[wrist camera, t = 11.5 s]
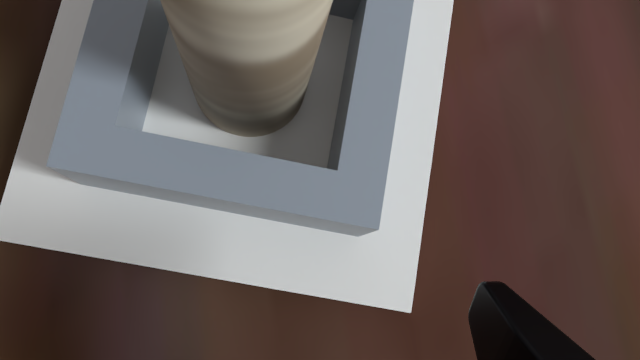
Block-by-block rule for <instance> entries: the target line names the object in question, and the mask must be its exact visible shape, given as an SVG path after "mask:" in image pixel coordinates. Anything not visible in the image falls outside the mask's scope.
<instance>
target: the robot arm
mask: <svg viewBox="0 0 640 360" xmlns="http://www.w3.org/2000/svg"><path fill="white" fill-rule="evenodd" d="M468 318H469V325H470V329H471V334H472V338H473V343H474V347H475V351H476V356H477V360H595V359H594V358H593V357H592V356H591V355H589V354H588V353H587V352H586V351H585V350H583V349H582V348H581V347H580V346H579V345H577V344H576V343H575V342H574V341H573V340H571V339H570V338H569V337H568V336H567V335H565V334H564V333H563V332H562V331H561V330H559V329H558V328H557V327H556V326H555V325H553V324H552V323H551V322H550V321H549V320H548V319H546V318H545V317H544V316H543V315H542V314H540V313H539V312H538V311H537V310H536V309H534V308H533V307H532V306H531V305H530V304H528V303H527V302H526V301H525V300H524V299H522V298H521V297H520V296H519V295H518V294H516V293H515V292H514V291H513V290H512V289H510V288H509V287H508V286H507V285H506V284H504V283H502V282H499V281H492V282H481V283H480V284H479V285H478V287H477V290H476V293H475V295H474V298H473V301H472V304H471V306H470V309H469V315H468Z"/></svg>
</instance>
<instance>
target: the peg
mask: <svg viewBox="0 0 640 360" xmlns="http://www.w3.org/2000/svg"><path fill="white" fill-rule="evenodd" d="M160 1H161V4H162V7H163V9H164V12H165V15H166V18H167V20H168V23H169V26H170V29H171V32H172V34H173V37H174V40H175V43H176V45H177V48H178V51H179V54H180V57H181V59H182V62H183V65H184V68H185V70H186V73H187V76H188V79H189V82H190V84H191V87H192V90H193V93H194V95H195V98H196V101H197V103H198V105H199V107H200V109H201V111H202V112H203V113H204V115H205V116H206V117H207V118H208V119H209V120H210V121H211V122H212V123H213V124H214V125H216V126H217V127H218V128H220V129H222V130H224V131H226V132H228V133H231V134H234V135H237V136H243V137H258V136H264V135H268V134H270V133H273V132H275V131H277V130H279V129H281V128H282V127H284V126H285V125H287V124H288V123H289V122H290V121H291V120H292V119H293V118H294V116H295V115H296V114H297V112H298V111H299V109H300V107H301V105H302V103H303V100H304V96H305V93H306V90H307V86H308V83H309V79H310V76H311V73H312V69H313V66H314V63H315V59H316V56H317V53H318V49H319V46H320V42H321V39H322V36H323V32H324V29H325V26H326V22H327V19H328V16H329V12H330V9H331V6H332V2H333V0H160Z"/></svg>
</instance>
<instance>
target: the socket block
mask: <svg viewBox="0 0 640 360" xmlns="http://www.w3.org/2000/svg"><path fill="white" fill-rule="evenodd" d="M453 1H454V0H333V2H332V6H331V9H330V12H329V16H328V19H327V22H326V26H325V29H324V32H323V36H322V39H321V42H320V46H319V49H318V53H317V56H316V59H315V63H314V66H313V69H312V73H311V76H310V79H309V83H308V86H307V90H306V93H305V96H304V100H303V103H302V105H301V107H300V109H299V111H298V112H297V114H296V115H295V116H294V118H293V119H292V120H291V121H290V122H289V123H288V124H287V125H285V126H284V127H282V128H281V129H279V130H277V131H275V132H273V133H270V134H268V135H264V136H258V137H243V136H237V135H234V134H231V133H228V132H226V131H224V130H222V129H220V128H218V127H217V126H216V125H214V124H213V123H212V122H211V121H210V120H209V119H208V118H207V117H206V116H205V115H204V113H203V112H202V111H201V109H200V107H199V105H198V103H197V101H196V98H195V95H194V93H193V90H192V87H191V84H190V82H189V79H188V76H187V73H186V70H185V68H184V65H183V62H182V59H181V57H180V54H179V51H178V48H177V45H176V43H175V40H174V37H173V34H172V32H171V29H170V26H169V23H168V20H167V18H166V15H165V12H164V9H163V7H162V4H161V1H160V0H62V1H61V5H60V8H59V11H58V15H57V18H56V21H55V25H54V28H53V31H52V35H51V38H50V41H49V45H48V48H47V51H46V55H45V58H44V61H43V65H42V68H41V71H40V75H39V78H38V81H37V85H36V88H35V91H34V95H33V98H32V101H31V105H30V108H29V111H28V115H27V118H26V121H25V125H24V128H23V131H22V135H21V138H20V141H19V145H18V148H17V151H16V155H15V158H14V161H13V165H12V168H11V171H10V175H9V178H8V181H7V185H6V188H5V191H4V195H3V198H2V201H1V205H0V241H5V242H11V243H16V244H22V245H28V246H33V247H39V248H45V249H50V250H56V251H62V252H67V253H73V254H79V255H84V256H90V257H96V258H101V259H107V260H113V261H118V262H124V263H130V264H135V265H141V266H147V267H152V268H158V269H164V270H169V271H175V272H181V273H186V274H192V275H198V276H203V277H209V278H215V279H220V280H226V281H232V282H237V283H243V284H249V285H254V286H260V287H266V288H271V289H277V290H283V291H288V292H294V293H300V294H305V295H311V296H317V297H322V298H328V299H334V300H339V301H345V302H351V303H356V304H362V305H368V306H373V307H379V308H385V309H390V310H396V311H402V312H408V313H411V310H412V303H413V296H414V288H415V281H416V273H417V266H418V259H419V251H420V244H421V237H422V229H423V222H424V215H425V207H426V200H427V193H428V185H429V178H430V170H431V163H432V156H433V148H434V141H435V134H436V126H437V119H438V112H439V104H440V97H441V90H442V82H443V75H444V67H445V60H446V53H447V45H448V38H449V31H450V23H451V16H452V9H453Z"/></svg>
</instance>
